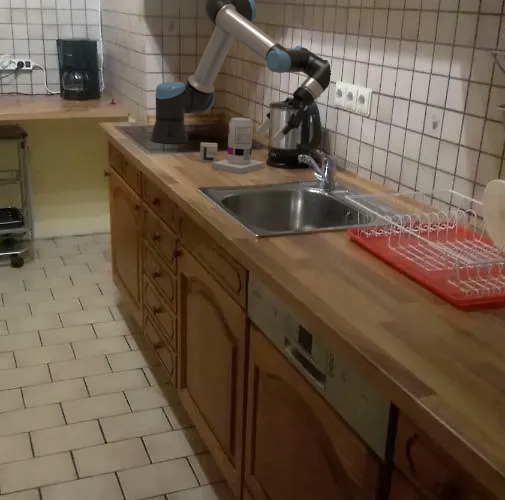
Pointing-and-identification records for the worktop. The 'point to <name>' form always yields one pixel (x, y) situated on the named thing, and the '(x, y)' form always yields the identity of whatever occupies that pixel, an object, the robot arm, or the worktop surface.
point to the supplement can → (240, 140)
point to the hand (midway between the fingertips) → (266, 136)
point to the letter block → (208, 152)
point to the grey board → (238, 166)
